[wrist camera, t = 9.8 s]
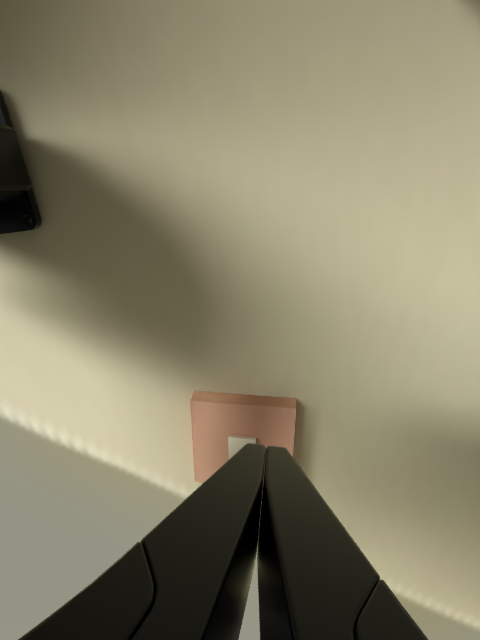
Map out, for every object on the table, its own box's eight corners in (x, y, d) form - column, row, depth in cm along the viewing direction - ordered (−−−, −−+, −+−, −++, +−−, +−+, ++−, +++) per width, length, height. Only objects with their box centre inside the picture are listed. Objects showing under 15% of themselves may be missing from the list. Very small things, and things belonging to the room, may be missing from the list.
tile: (200, 464, 24) (194, 483, 23) (196, 386, 22) (189, 402, 20) (290, 472, 24) (290, 493, 22) (295, 393, 21) (296, 410, 20)
